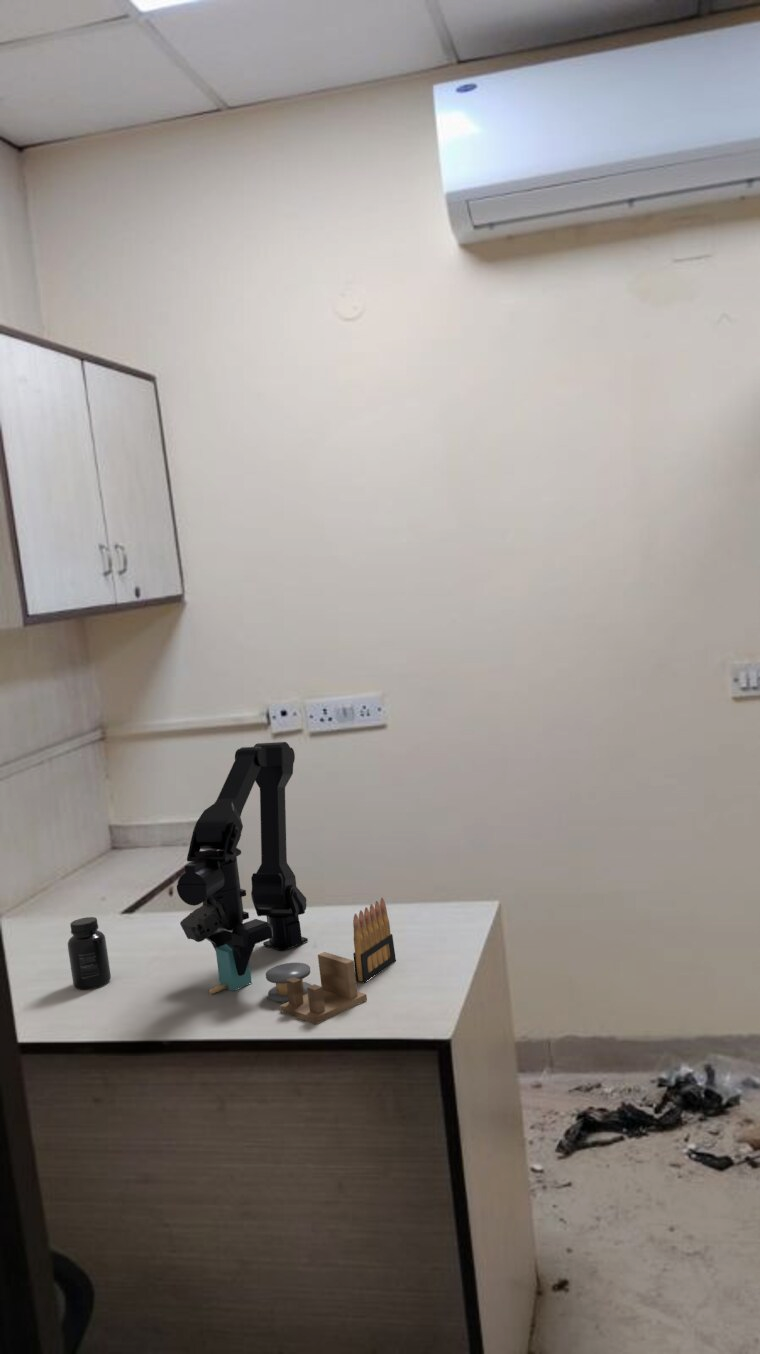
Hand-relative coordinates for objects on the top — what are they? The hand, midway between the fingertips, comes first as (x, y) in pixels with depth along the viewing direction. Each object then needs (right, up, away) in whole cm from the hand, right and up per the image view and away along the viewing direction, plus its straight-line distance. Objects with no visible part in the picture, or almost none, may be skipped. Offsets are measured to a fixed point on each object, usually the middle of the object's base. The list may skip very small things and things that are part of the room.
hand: (234, 972), depth 183 cm
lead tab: (-1, -2, -1) cm, 3 cm away
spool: (+10, -2, -7) cm, 13 cm away
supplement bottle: (-28, -5, +9) cm, 29 cm away
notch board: (+17, -2, -13) cm, 21 cm away
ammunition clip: (+25, 0, -1) cm, 25 cm away
